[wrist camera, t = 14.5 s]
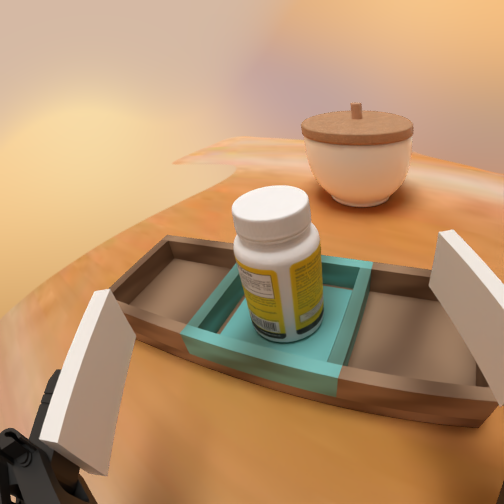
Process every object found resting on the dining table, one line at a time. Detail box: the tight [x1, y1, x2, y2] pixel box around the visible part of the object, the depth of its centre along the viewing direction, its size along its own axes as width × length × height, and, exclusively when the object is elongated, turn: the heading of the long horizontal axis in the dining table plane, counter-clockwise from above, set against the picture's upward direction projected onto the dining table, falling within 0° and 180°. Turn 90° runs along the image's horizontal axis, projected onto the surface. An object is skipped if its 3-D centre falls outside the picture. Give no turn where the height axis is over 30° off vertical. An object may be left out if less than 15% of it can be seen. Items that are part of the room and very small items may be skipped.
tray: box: [109, 235, 499, 428], centre depth 21 cm, size 27×10×3 cm, turn 64°
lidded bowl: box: [301, 103, 413, 207], centre depth 33 cm, size 13×13×11 cm
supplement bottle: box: [232, 186, 324, 342], centre depth 18 cm, size 5×5×8 cm
